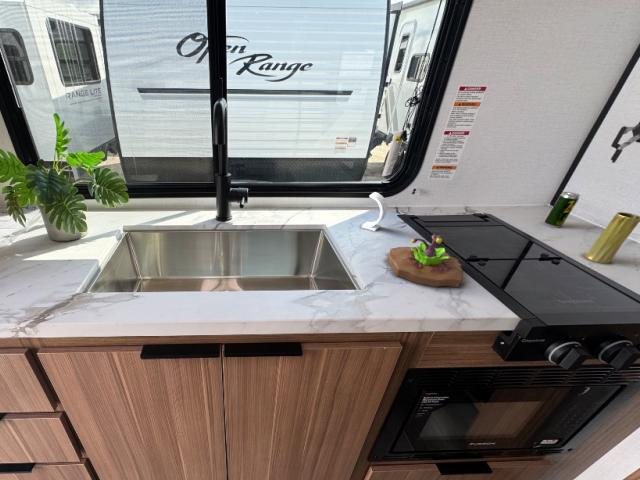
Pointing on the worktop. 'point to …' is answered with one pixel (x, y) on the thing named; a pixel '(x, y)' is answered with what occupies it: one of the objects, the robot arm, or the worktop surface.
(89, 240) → the worktop surface
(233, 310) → the worktop surface
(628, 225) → the vase
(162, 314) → the worktop surface
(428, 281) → the plant
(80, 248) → the worktop surface
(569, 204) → the beer can
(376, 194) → the headphone stand
